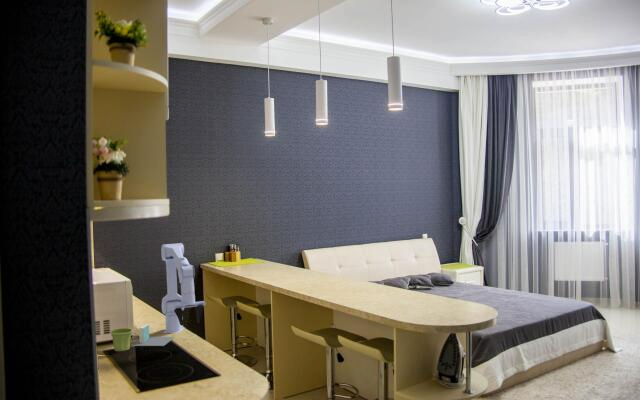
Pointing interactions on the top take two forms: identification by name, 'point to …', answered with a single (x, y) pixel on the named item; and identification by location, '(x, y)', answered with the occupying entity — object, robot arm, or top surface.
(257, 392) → the top surface
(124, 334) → the plant pot
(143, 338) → the tile
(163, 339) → the mat
